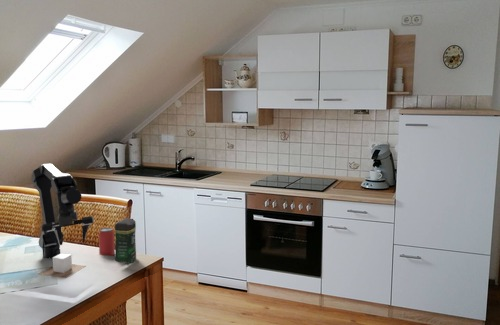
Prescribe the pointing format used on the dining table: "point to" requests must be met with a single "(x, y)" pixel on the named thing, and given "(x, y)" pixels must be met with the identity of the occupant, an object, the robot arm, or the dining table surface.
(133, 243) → the coffee jar
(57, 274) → the post base
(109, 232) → the beer can
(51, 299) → the dining table surface
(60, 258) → the white block
